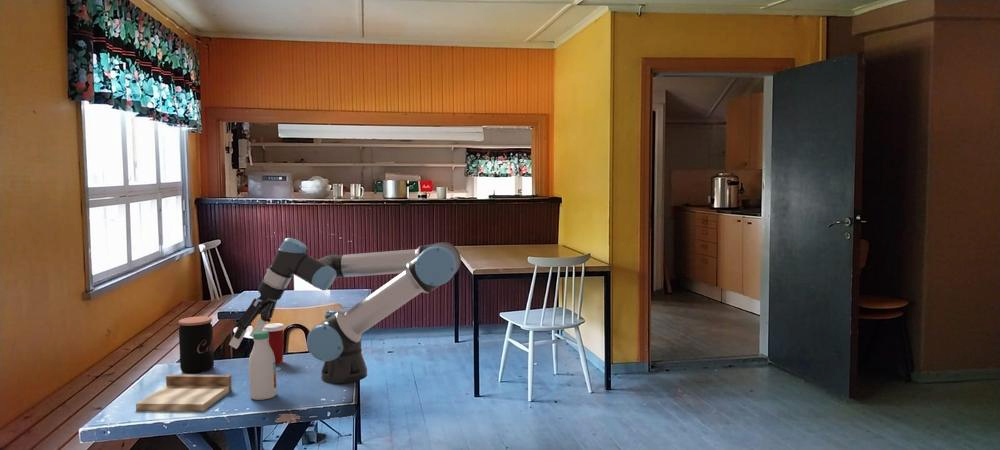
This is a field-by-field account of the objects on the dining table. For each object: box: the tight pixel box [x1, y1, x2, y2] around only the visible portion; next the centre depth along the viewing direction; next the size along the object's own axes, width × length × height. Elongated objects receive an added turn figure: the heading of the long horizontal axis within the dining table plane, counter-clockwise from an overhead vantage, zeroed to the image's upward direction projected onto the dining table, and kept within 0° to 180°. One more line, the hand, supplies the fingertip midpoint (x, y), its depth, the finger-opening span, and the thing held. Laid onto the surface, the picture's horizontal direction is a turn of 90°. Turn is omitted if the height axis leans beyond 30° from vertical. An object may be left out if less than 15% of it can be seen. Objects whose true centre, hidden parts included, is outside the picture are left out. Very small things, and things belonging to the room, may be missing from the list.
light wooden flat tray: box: [135, 373, 233, 412], centre depth 195 cm, size 20×18×5 cm
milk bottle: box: [248, 330, 277, 401], centre depth 197 cm, size 8×8×20 cm
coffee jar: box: [178, 315, 215, 375], centre depth 225 cm, size 11×11×18 cm
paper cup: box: [262, 322, 286, 366], centre depth 233 cm, size 8×8×14 cm
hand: (243, 341), depth 204 cm, fingers open, 13 cm apart
